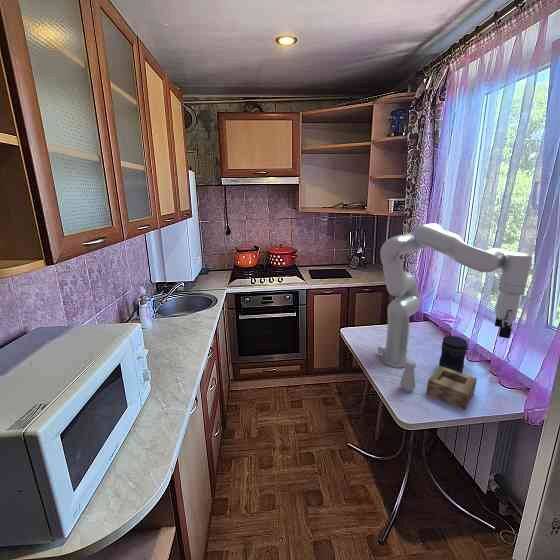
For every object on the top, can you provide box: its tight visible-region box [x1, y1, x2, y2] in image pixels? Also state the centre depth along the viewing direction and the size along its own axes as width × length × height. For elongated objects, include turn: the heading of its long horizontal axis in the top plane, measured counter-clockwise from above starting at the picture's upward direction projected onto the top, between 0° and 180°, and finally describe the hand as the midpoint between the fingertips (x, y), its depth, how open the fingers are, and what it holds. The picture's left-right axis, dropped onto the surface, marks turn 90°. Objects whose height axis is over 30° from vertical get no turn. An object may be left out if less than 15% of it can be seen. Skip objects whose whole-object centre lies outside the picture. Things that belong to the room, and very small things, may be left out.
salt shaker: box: [399, 359, 417, 393], centre depth 131 cm, size 6×6×13 cm
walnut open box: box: [425, 365, 478, 411], centre depth 129 cm, size 14×14×7 cm
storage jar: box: [438, 335, 469, 374], centre depth 144 cm, size 10×10×15 cm
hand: (501, 331), depth 118 cm, fingers open, 9 cm apart
